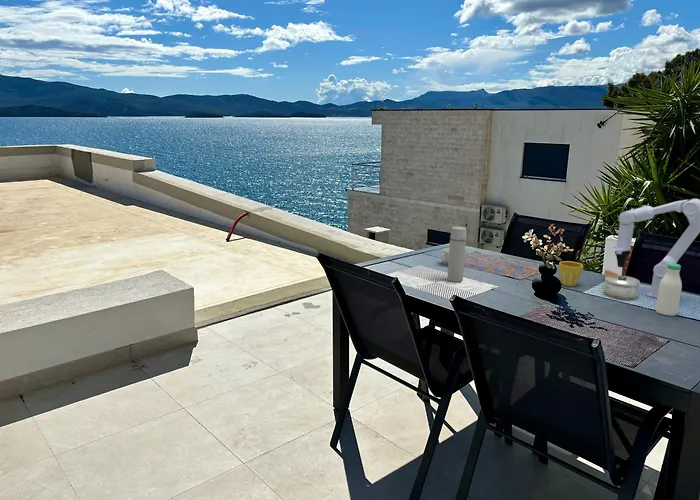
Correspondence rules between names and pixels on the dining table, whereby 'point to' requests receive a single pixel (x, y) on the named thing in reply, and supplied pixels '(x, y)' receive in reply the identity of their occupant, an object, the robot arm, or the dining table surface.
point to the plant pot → (570, 272)
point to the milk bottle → (669, 291)
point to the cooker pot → (620, 291)
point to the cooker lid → (620, 279)
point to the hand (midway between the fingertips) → (620, 266)
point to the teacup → (446, 255)
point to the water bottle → (456, 254)
